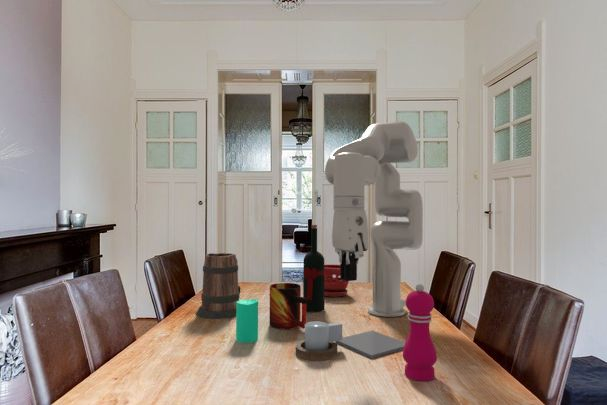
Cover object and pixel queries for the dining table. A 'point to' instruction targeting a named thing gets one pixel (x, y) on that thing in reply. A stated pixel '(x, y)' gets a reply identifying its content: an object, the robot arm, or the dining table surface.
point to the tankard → (219, 287)
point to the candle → (247, 320)
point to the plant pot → (334, 282)
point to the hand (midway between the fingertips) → (348, 279)
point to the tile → (372, 344)
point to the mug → (286, 306)
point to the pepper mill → (419, 337)
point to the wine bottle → (314, 276)
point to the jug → (321, 335)
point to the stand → (316, 352)
